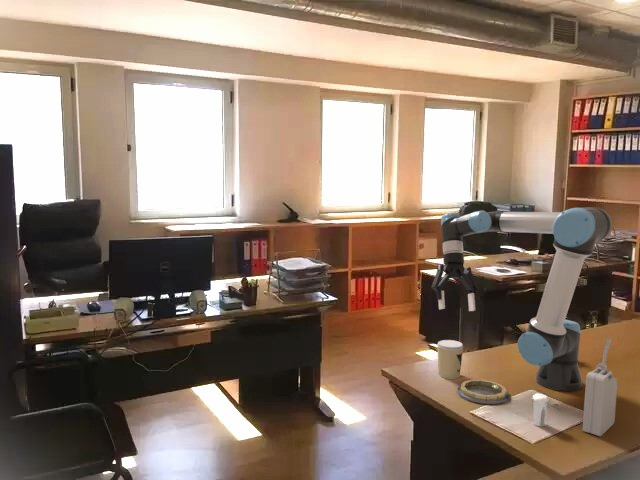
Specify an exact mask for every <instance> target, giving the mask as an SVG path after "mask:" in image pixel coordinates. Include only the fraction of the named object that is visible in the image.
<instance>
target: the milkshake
mask: <svg viewBox="0 0 640 480" xmlns="http://www.w3.org/2000/svg"><path fill="white" fill-rule="evenodd" d="M530 394H531V398H532V420H533V421H532V423H533V425H534V426H536V427H544V426H546V420H547V414H548V407H549V402H550V398H549V397H548V396H547V395H546V394H543V393H534V394H533V393H532V392H530Z"/></svg>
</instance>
